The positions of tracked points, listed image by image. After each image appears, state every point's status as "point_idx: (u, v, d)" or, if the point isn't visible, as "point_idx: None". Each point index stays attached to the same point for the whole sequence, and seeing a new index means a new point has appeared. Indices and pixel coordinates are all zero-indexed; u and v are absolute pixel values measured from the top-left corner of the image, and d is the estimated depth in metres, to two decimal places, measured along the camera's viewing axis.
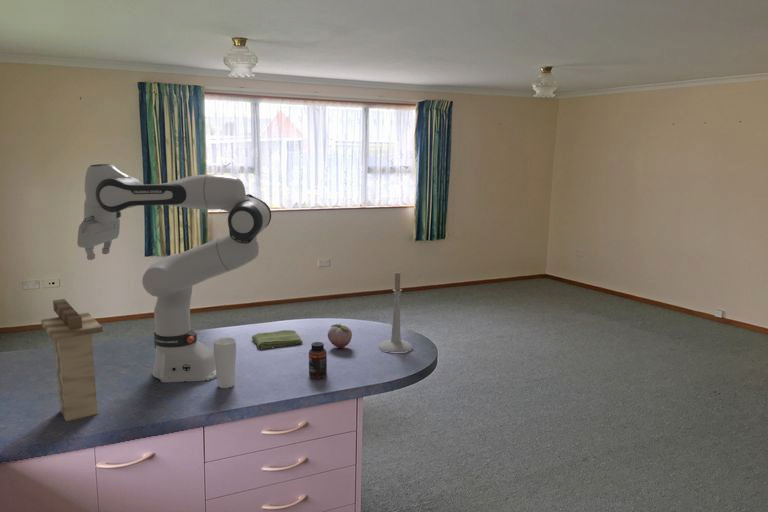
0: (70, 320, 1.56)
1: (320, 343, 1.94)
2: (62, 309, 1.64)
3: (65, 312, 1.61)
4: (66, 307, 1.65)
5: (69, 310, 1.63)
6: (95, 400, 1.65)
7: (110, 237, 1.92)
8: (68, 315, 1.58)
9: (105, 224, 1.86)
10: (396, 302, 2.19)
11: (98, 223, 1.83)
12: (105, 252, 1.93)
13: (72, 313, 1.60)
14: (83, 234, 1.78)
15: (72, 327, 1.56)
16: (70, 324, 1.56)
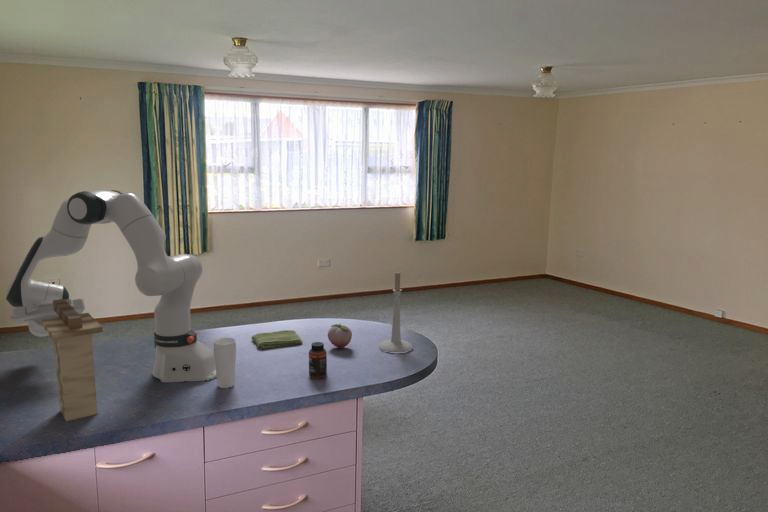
0: (70, 320, 1.56)
1: (320, 343, 1.94)
2: (62, 309, 1.64)
3: (65, 312, 1.61)
4: (66, 307, 1.65)
5: (69, 310, 1.63)
6: (95, 400, 1.65)
7: None
8: (68, 315, 1.58)
9: None
10: (396, 302, 2.19)
11: None
12: None
13: (72, 313, 1.60)
14: (13, 316, 1.84)
15: (72, 327, 1.56)
16: (70, 324, 1.56)
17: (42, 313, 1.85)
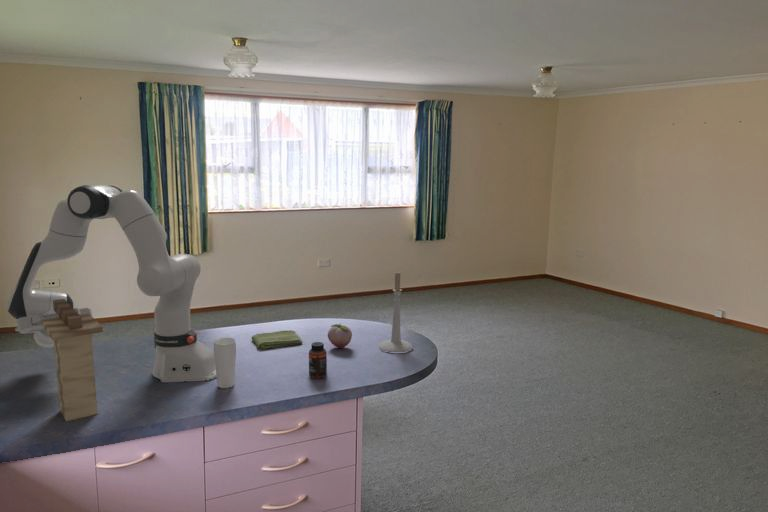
0: (70, 320, 1.56)
1: (320, 343, 1.94)
2: (62, 309, 1.64)
3: (65, 312, 1.61)
4: (66, 307, 1.65)
5: (69, 310, 1.63)
6: (95, 400, 1.65)
7: None
8: (68, 315, 1.58)
9: None
10: (396, 302, 2.19)
11: None
12: None
13: (72, 313, 1.60)
14: (18, 326, 1.77)
15: (72, 327, 1.56)
16: (70, 324, 1.56)
17: None
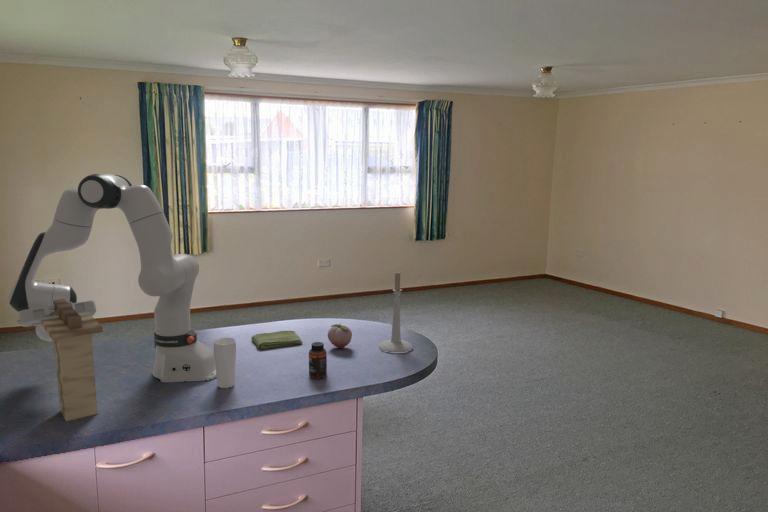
0: (70, 320, 1.56)
1: (320, 343, 1.94)
2: (62, 309, 1.64)
3: (65, 312, 1.61)
4: (66, 307, 1.65)
5: (69, 310, 1.63)
6: (95, 400, 1.65)
7: None
8: (68, 315, 1.58)
9: None
10: (396, 302, 2.19)
11: None
12: None
13: (72, 313, 1.60)
14: (19, 319, 1.71)
15: (72, 327, 1.56)
16: (70, 324, 1.56)
17: (51, 316, 1.72)
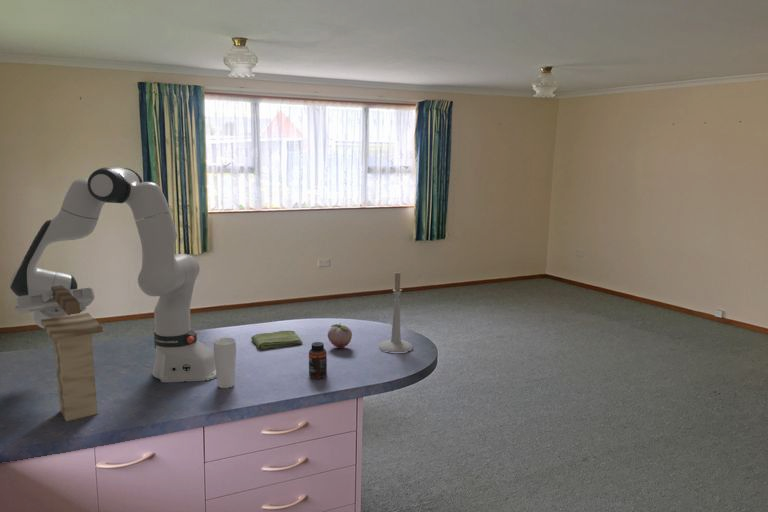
0: (68, 305, 1.55)
1: (320, 343, 1.94)
2: (60, 295, 1.63)
3: (63, 298, 1.61)
4: (64, 293, 1.65)
5: (67, 296, 1.62)
6: (95, 400, 1.65)
7: None
8: (66, 300, 1.58)
9: None
10: (396, 302, 2.19)
11: None
12: None
13: (70, 298, 1.60)
14: (17, 305, 1.71)
15: (70, 312, 1.56)
16: (68, 309, 1.56)
17: (49, 302, 1.72)
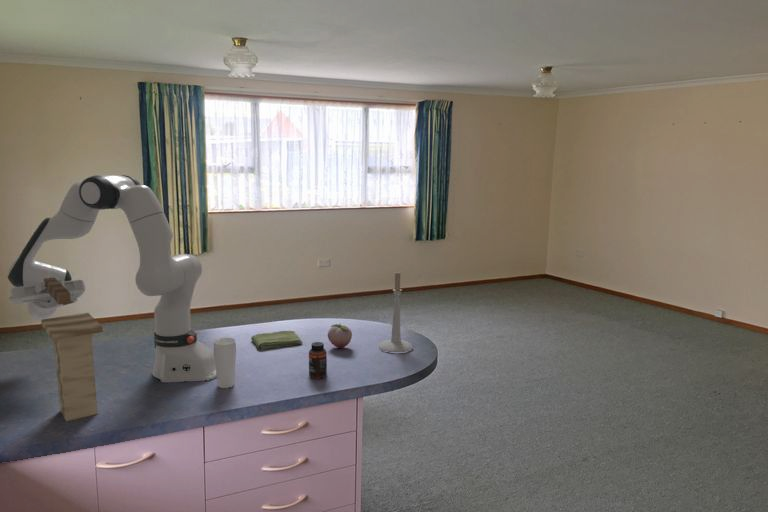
0: (59, 295, 1.64)
1: (320, 343, 1.94)
2: (52, 286, 1.72)
3: (55, 288, 1.69)
4: (56, 284, 1.74)
5: (58, 287, 1.71)
6: (95, 400, 1.65)
7: None
8: (57, 291, 1.67)
9: None
10: (396, 302, 2.19)
11: None
12: None
13: (61, 289, 1.69)
14: (11, 296, 1.80)
15: (61, 302, 1.65)
16: (59, 299, 1.64)
17: (42, 293, 1.81)
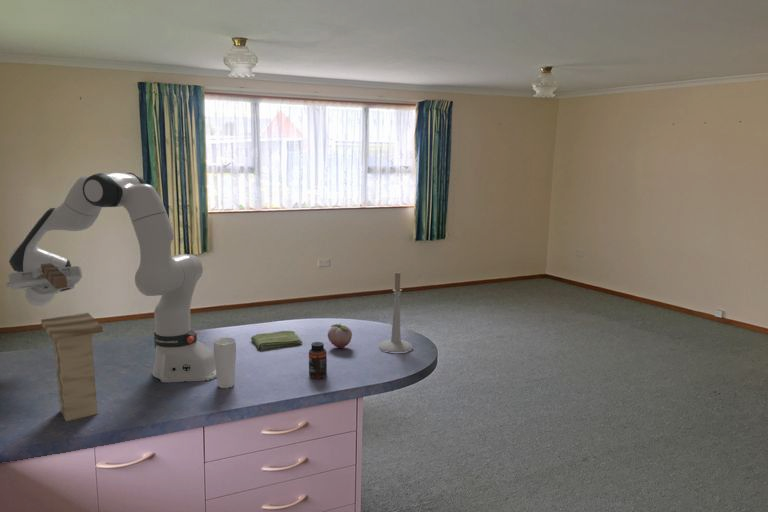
0: (55, 279, 1.66)
1: (320, 343, 1.94)
2: (49, 271, 1.74)
3: (51, 273, 1.71)
4: (53, 269, 1.76)
5: (55, 271, 1.73)
6: (95, 400, 1.65)
7: None
8: (54, 275, 1.69)
9: None
10: (396, 302, 2.19)
11: None
12: None
13: (58, 274, 1.71)
14: (9, 282, 1.82)
15: (57, 286, 1.67)
16: (55, 283, 1.66)
17: (39, 279, 1.83)
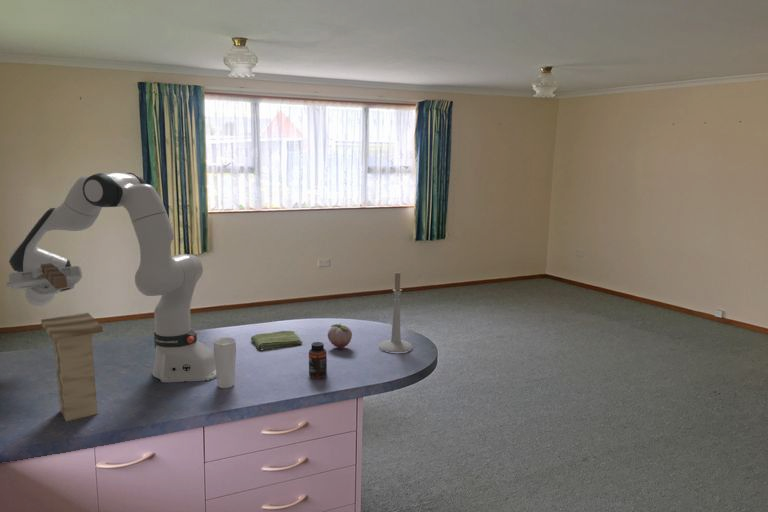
0: (55, 279, 1.66)
1: (320, 343, 1.94)
2: (49, 271, 1.74)
3: (51, 273, 1.71)
4: (53, 269, 1.76)
5: (55, 271, 1.73)
6: (95, 400, 1.65)
7: None
8: (54, 275, 1.69)
9: None
10: (396, 302, 2.19)
11: None
12: None
13: (58, 274, 1.71)
14: (9, 282, 1.82)
15: (57, 286, 1.67)
16: (55, 283, 1.66)
17: (39, 279, 1.83)
